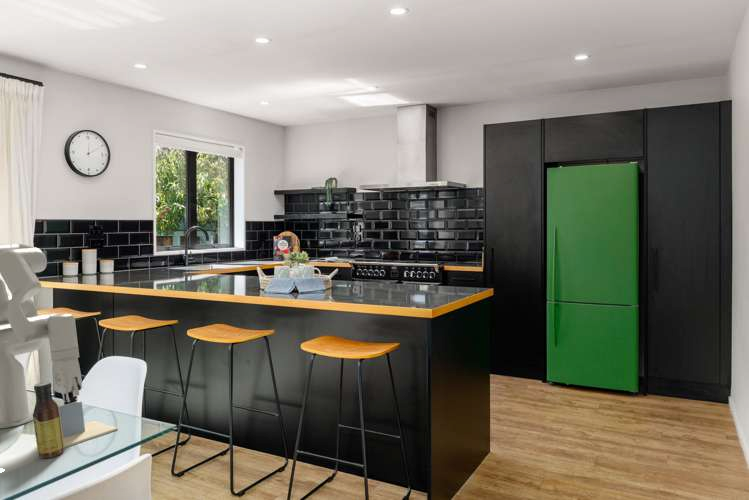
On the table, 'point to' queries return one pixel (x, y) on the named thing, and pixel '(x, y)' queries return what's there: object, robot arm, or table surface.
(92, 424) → the mat
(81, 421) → the tile
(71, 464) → the table surface
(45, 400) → the sauce bottle
